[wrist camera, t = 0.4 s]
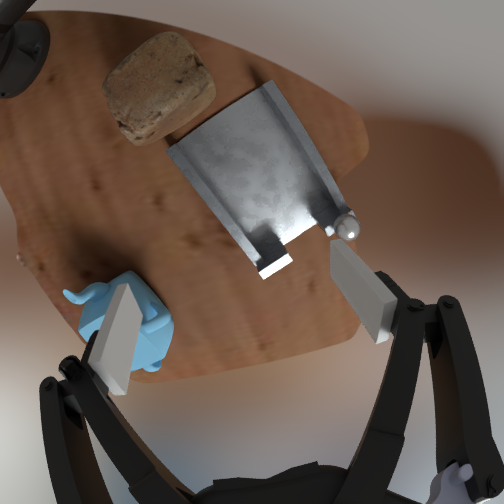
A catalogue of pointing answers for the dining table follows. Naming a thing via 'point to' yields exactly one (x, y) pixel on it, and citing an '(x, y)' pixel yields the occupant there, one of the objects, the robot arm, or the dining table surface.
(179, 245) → the dining table surface
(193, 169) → the dock
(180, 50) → the brown blocky piece
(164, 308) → the teapot
